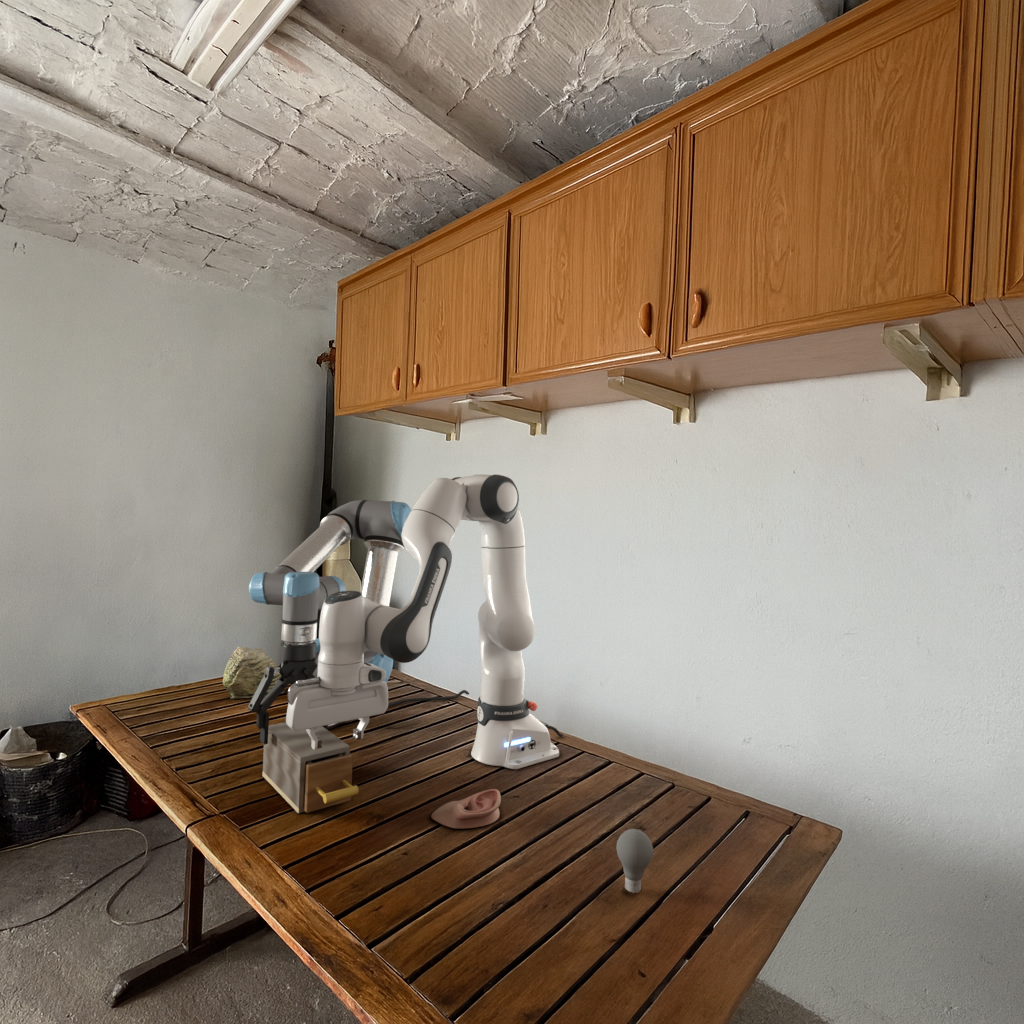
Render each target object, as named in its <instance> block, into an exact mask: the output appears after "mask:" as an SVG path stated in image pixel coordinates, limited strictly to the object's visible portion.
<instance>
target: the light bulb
mask: <svg viewBox="0 0 1024 1024" xmlns="http://www.w3.org/2000/svg"><path fill="white" fill-rule="evenodd" d="M615 849H616V854H617V857H618V859H619V861H620V863H621V865H622V867H623V873H624V874H623V875H624V876H625V878H624V888H625V890H627V891H628V892H630V893H634V894H635V893H639V892H640V891H641V889H642V887H641V886H642V879H643V877H644V875H645V871H646V868H647V867H648V866H649V864H650V863H651V861H652V859H653V855H654V847H653V843H652V841H651V838H649V836H648V835H647V834H646V833H645V832H643V831H642V830H641V829H636V828H629V829H627V830H625V831H623V832H622V833H621V834H620V835H619V837H618V839H617V841H616V847H615Z"/></svg>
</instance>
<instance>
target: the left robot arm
mask: <svg viewBox="0 0 1024 1024" xmlns="http://www.w3.org/2000/svg"><path fill="white" fill-rule="evenodd" d="M411 510H412V508H411V507H410V505H409V504H408V503H406V502H402V501H396V500H370V499H369V500H368V499H357V500H353V501H349V502H346V503H345V504H342V505H340V506H338V507H336V508H335V509H333V510H332V511H330V512H329V513H328V514H327V515H325V516H324V517H323V518H322V519H321V521H320V523H319V527H318V528H317V529H316V530H315V531H313V532H312V533H311V534H309V536H308V537H307V538H306V539H305V540H304V541H302V543H301V544H299V545H298V546H297V547H296V548H295V549H294V550H293V551H292V552H291V553H290V554H289V555H287V557H285V559H283V560H282V562H281V563H279V564H278V565H277V566H276V567H275V568H274V569H273V570H271V571H270V572H268V571H264V572H257V573H255V574H254V575H253V576H252V577H251V579H250V581H249V585H248V593H249V597H250V599H251V601H253V602H255V603H258V604H265V605H269V606H271V605H273V606H282V619H281V622H282V623H281V632H280V633H281V635H280V640H281V641H282V643H280V656H279V657H280V658H279V659H280V660H279V661H280V662H279V665H278V666H276V667H271V666H269V665H267V666H266V667H265V672H264V677H263V678H262V680H261V682H260V684H259V686H258V688H257V690H256V692H255V694H254V696H253V697H252V698H251V700H250V701H249V704H248V706H247V709H248V710H249V711H250V712H251V713H254V714H255V713H256V722H255V724H256V727H257V728H258V729H259V742H261V744H263V746H264V745H265V744H268V726H269V725H270V713H269V712H268V710H269V708H270V707H271V706H272V705H273V703H274V702H275V701H276V700H277V699H278V698H279V696H280V695H281V694H282V693H281V692H282V691H283V689H284V688H286V689H287V687H288V686H289V685H290V686H291V685H293V684H294V683H296V681H298V680H307V679H311V678H316V677H317V670H318V656H319V653H320V641H319V637H318V614H319V611H321V610H322V606H323V603H324V601H325V599H326V598H327V597H328V596H330V595H331V594H334V593H337V592H341V591H347V587H346V584H345V581H343V580H342V578H340V577H339V576H336V575H325V576H320V575H319V574H318V573H317V572H316V570H317V569H318V568H319V567H320V566H321V565H323V563H324V562H325V561H327V560H328V558H329V557H330V556H331V555H332V554H333V553H334V552H335V551H336V550H337V549H338V548H339V547H340V546H344V545H346V544H347V543H349V541H351V540H363V545H364V546H365V548H367V554H366V558H365V564H364V570H363V574H362V575H363V577H362V580H361V586H360V591H359V592H361V593H362V594H363V596H364V597H366V598H367V599H369V600H371V601H373V602H376V603H379V604H382V605H385V606H389V607H390V603H391V597H392V591H393V586H394V585H393V584H394V579H395V573H396V567H397V561H398V556H399V554H400V553H401V552H403V551H404V550H405V547H404V545H403V542H402V537H401V533H402V529H403V526H404V523H405V521H406V519H407V518H408V516H409V514H410V512H411ZM317 637H318V638H317ZM364 662H365V663H370V664H373V665H376V666H378V667H380V668H382V669H383V670H385V671H386V678H385V680H383V681H385V682H386V684H387V683H388V681H389V679H390V677H391V675H392V671H393V668H394V659H392V658H389V657H387V656H386V655H382V654H379V653H376V652H373V651H371V650H369V651H366V652H365V653H364ZM278 672H279V673H280V675H281V676H280V677H279V679H278V680H277V681H276V684H275V685H274V686H273V688H272V689H271V690H270V691H269V693H268V694H267V695H266V696H265V694H266V692H267V690H268V688H269V686H270V684H271V682H272V680H273V677H275V676H276V674H277V673H278ZM295 686H296V685H295ZM295 686H294V687H295ZM463 694H465V695H467V696H468V695H470V692H469V691H468V690H466V689H464V690H461V691H460V692H458V693H457V694H454V695H450V696H431V697H429V696H428V697H413V698H405V699H399V700H395V701H392V702H388V708H389V707H392V706H396V705H400V704H405V703H411V702H427V701H447V700H448V701H449V700H454V699H458V698H459V697H461V696H462V695H463ZM264 696H265V697H264ZM342 723H343V722H340V723H335V724H330V725H325V726H323V727H324V728H325V729H327V730H328V731H329V730H332V729H335V728H337V727H339V726H340V725H342Z"/></svg>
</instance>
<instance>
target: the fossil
mask: <svg viewBox="0 0 1024 1024" xmlns="http://www.w3.org/2000/svg"><path fill="white" fill-rule="evenodd" d="M267 665H269V666H271V667H277V665H276V663H275V662H274V660H273V659H272V658H271V657H270V656H269V655H268V654H267V653H266V652H265V650H264V649H263V648H260V647H258V648H251V647H247V646H246V647H245V646H238V647H237V648H236V649H235V650H233V651H232V653H231V656H230V657H229V659H228V660H227V663H226V666H225V668H224V671H223V675H222V676H223V677H222V685H223V687H224V688H225V690H226V691H228V693H229V698H230V699H250V698H251V699H252V698H253V696H254V694H255V692H256V690H257V688H258V686H259V684H260V682H261V680H262V678H263V677H264V672H265V667H266V666H267ZM280 676H281V675H280V673H279V672H278V673H277V674H276V676H275V677H273V680H272V682H271V684H270V686H269V688H268V690H267V692H266V694H265V696H266V695H267V694H268V693H269V691H270V690H271V689H272V688H273V686H274V685H275V684H276V681H277V680H278V679H279V677H280ZM286 689H287V687H286V688H284V689H283V691H282V692H281V693H280V694H284V693H285V691H286ZM265 696H264V698H265Z"/></svg>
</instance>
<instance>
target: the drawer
mask: <svg viewBox="0 0 1024 1024" xmlns="http://www.w3.org/2000/svg"><path fill="white" fill-rule="evenodd" d="M353 760H354V756H353V754H351V753H350V754H348V755H344V756H343V754H342V753H339V754H335V755H331V756H327V757H323V758H319V759H314V760H310V761H306V762H305V780H304V803H305V810H304V811H305V812H304V813H305V814H308V813H311V812H314V811H319V810H322V809H326V808H329V807H332V806H335V805H339V804H342V803H346V802H349V801H352V797H353V796H357V795H359V792H360V791H359V787H358V785H356V784H355V785H352V784H353V763H354V762H353Z"/></svg>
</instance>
